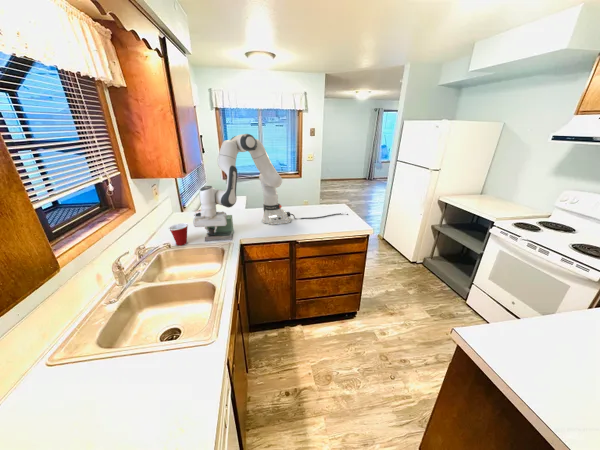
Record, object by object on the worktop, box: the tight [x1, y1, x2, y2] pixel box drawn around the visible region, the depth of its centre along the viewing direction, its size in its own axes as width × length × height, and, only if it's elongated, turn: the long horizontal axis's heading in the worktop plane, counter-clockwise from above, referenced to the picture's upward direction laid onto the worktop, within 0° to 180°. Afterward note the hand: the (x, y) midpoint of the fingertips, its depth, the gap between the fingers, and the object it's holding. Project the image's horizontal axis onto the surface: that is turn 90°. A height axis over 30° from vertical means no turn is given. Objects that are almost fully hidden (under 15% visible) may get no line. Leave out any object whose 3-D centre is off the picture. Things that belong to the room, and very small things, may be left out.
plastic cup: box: [168, 223, 189, 247], centre depth 147 cm, size 11×11×12 cm
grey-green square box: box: [204, 214, 234, 242], centre depth 159 cm, size 16×16×12 cm
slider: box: [209, 228, 214, 235], centre depth 155 cm, size 2×3×4 cm
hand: (211, 232), depth 155 cm, fingers closed on slider, 2 cm apart
